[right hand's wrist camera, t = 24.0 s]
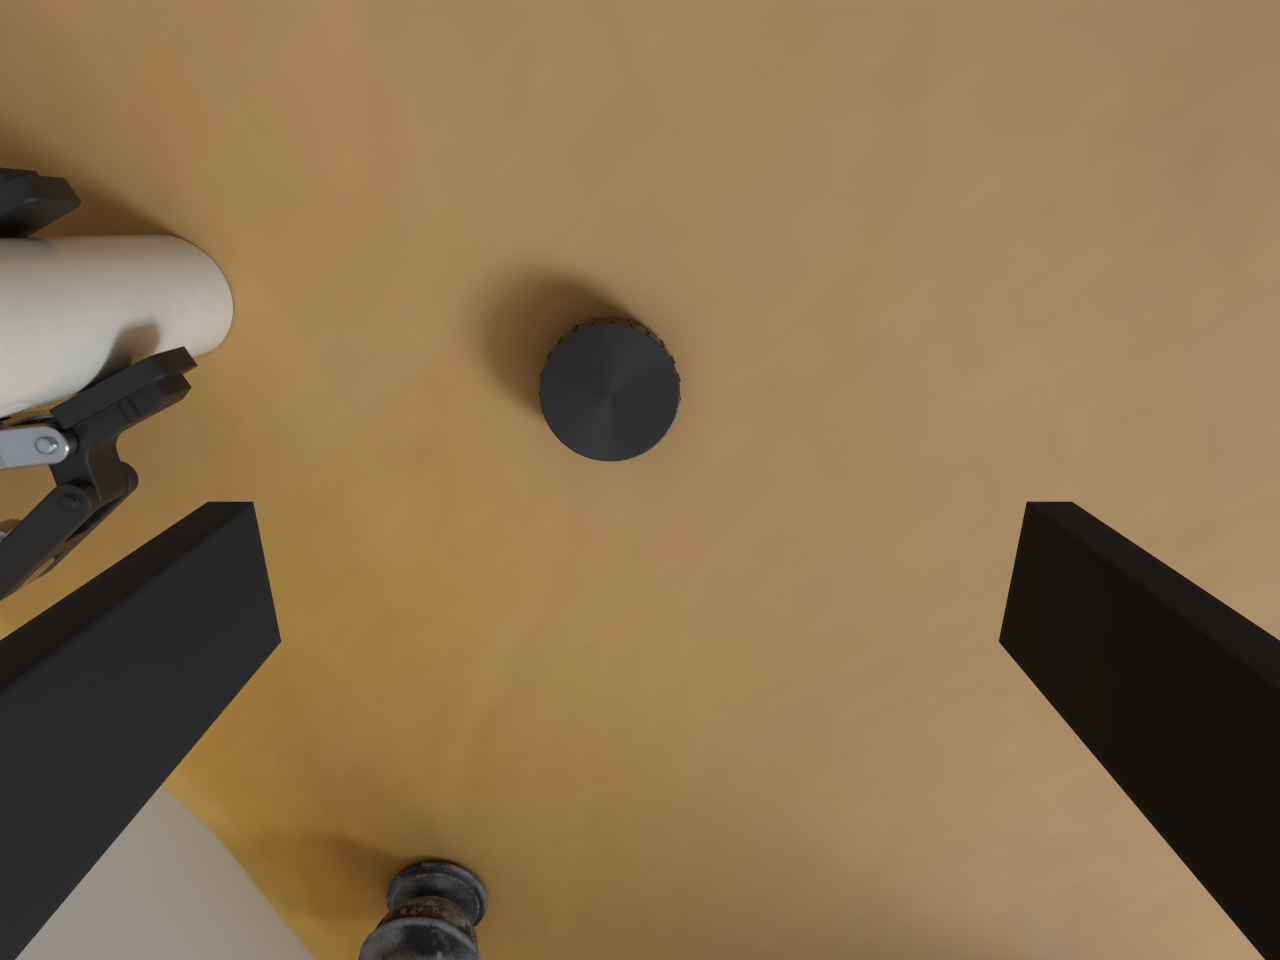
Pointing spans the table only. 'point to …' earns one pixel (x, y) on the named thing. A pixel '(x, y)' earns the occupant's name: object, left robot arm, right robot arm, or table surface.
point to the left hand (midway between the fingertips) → (116, 279)
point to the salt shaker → (429, 916)
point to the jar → (100, 310)
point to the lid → (609, 389)
